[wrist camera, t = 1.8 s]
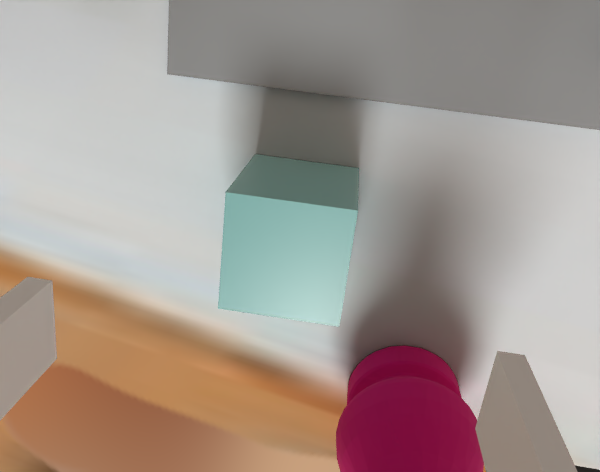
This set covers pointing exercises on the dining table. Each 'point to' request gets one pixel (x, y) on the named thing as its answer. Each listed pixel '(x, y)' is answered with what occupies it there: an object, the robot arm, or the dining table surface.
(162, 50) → the dining table surface
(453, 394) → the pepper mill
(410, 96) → the stand
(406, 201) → the dining table surface
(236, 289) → the mint green foam cube
